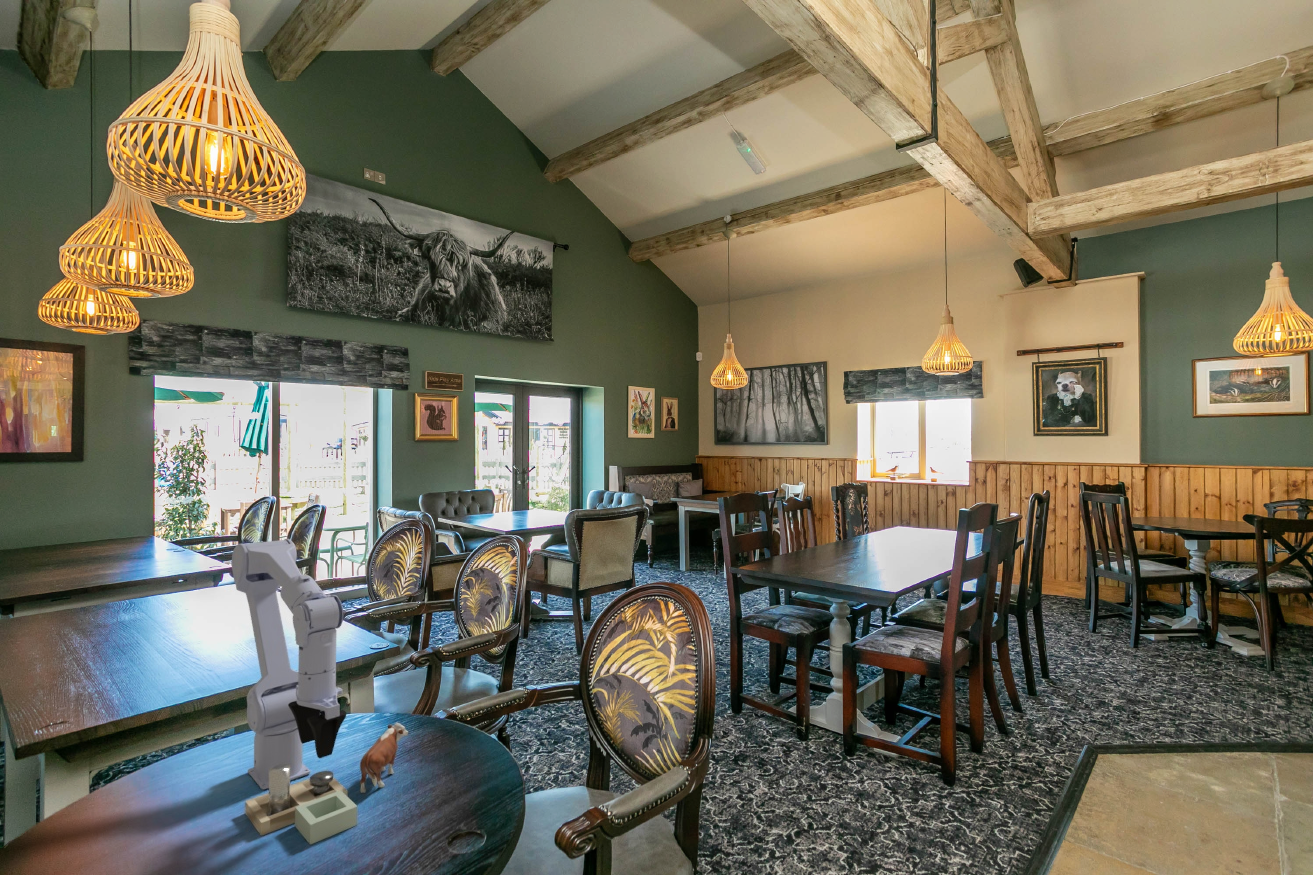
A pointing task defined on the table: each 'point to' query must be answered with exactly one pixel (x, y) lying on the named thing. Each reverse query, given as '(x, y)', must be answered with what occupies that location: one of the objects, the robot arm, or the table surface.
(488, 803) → the table surface
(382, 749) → the bull figurine
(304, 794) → the socket block
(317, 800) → the grey-green hollow square block
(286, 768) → the silver metal cylinder
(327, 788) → the round dark knob
